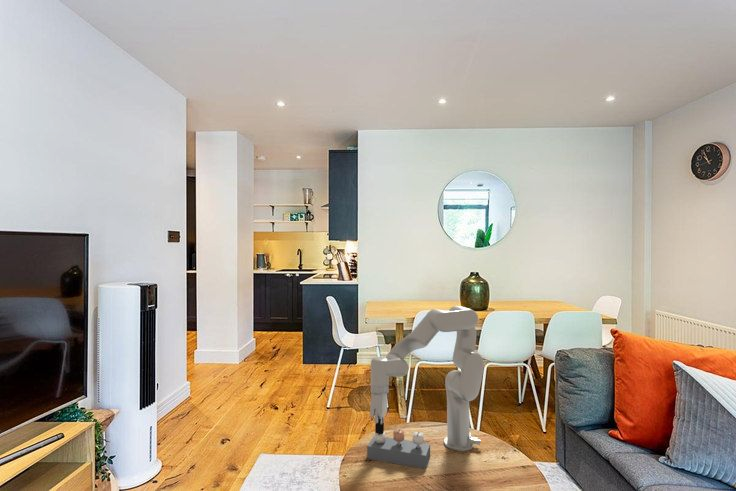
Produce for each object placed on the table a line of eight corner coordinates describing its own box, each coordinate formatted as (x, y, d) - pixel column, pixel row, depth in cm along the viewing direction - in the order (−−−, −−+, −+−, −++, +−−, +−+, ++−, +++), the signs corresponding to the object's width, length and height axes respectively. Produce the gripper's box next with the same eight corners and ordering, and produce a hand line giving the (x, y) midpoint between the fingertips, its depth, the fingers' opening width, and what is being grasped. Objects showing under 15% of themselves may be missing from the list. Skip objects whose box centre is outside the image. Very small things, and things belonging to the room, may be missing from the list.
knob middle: (405, 445, 158) (405, 429, 158) (402, 450, 154) (402, 433, 154) (394, 443, 160) (394, 427, 160) (392, 448, 155) (392, 432, 156)
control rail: (430, 456, 158) (430, 443, 158) (426, 468, 148) (425, 455, 148) (374, 447, 165) (374, 435, 165) (367, 458, 156) (367, 446, 156)
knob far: (386, 446, 161) (386, 431, 161) (383, 451, 157) (383, 435, 157) (376, 445, 162) (376, 429, 162) (373, 450, 158) (373, 434, 158)
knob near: (424, 448, 156) (424, 432, 156) (422, 453, 152) (422, 436, 152) (413, 446, 157) (413, 430, 157) (411, 451, 153) (411, 435, 153)
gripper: (376, 381, 168) (376, 424, 168) (365, 392, 154) (365, 439, 154) (393, 383, 166) (392, 426, 165) (383, 395, 152) (383, 442, 151)
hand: (379, 432), depth 160 cm, fingers closed
